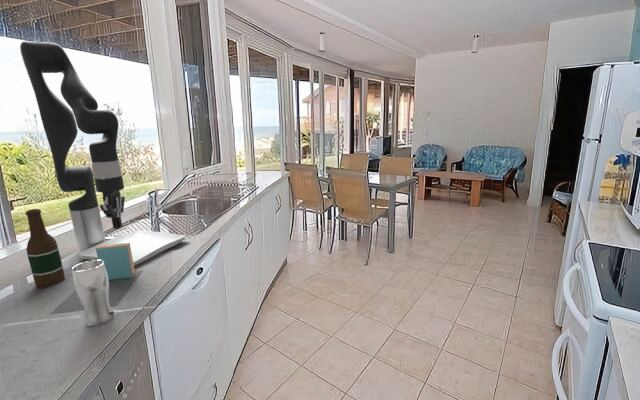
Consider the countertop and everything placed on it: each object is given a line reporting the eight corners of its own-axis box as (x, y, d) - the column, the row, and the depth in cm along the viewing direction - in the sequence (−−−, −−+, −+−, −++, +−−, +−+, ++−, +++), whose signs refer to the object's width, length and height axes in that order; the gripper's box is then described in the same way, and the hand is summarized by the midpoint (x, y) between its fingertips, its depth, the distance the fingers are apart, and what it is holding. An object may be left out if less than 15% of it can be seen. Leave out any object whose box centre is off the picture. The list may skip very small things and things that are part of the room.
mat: (90, 277, 107) (90, 275, 107) (143, 271, 110) (143, 270, 109) (50, 315, 86) (49, 313, 86) (116, 307, 89) (116, 305, 88)
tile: (105, 277, 105) (98, 245, 102) (135, 274, 107) (129, 242, 104) (101, 281, 103) (94, 248, 100) (132, 278, 104) (126, 245, 102)
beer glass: (110, 308, 88) (99, 257, 85) (120, 317, 84) (109, 263, 80) (79, 321, 83) (66, 266, 79) (88, 331, 79) (75, 274, 75)
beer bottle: (29, 290, 99) (9, 214, 94) (43, 279, 107) (24, 208, 101) (59, 286, 101) (41, 212, 96) (70, 275, 109) (54, 205, 103)
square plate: (75, 263, 119) (73, 253, 118) (138, 237, 144) (136, 229, 143) (132, 272, 110) (130, 261, 109) (188, 243, 135) (187, 234, 134)
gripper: (104, 173, 109) (114, 223, 113) (84, 179, 96) (95, 235, 100) (129, 171, 110) (137, 221, 114) (112, 178, 97) (122, 233, 101)
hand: (118, 228), depth 107 cm, fingers closed
